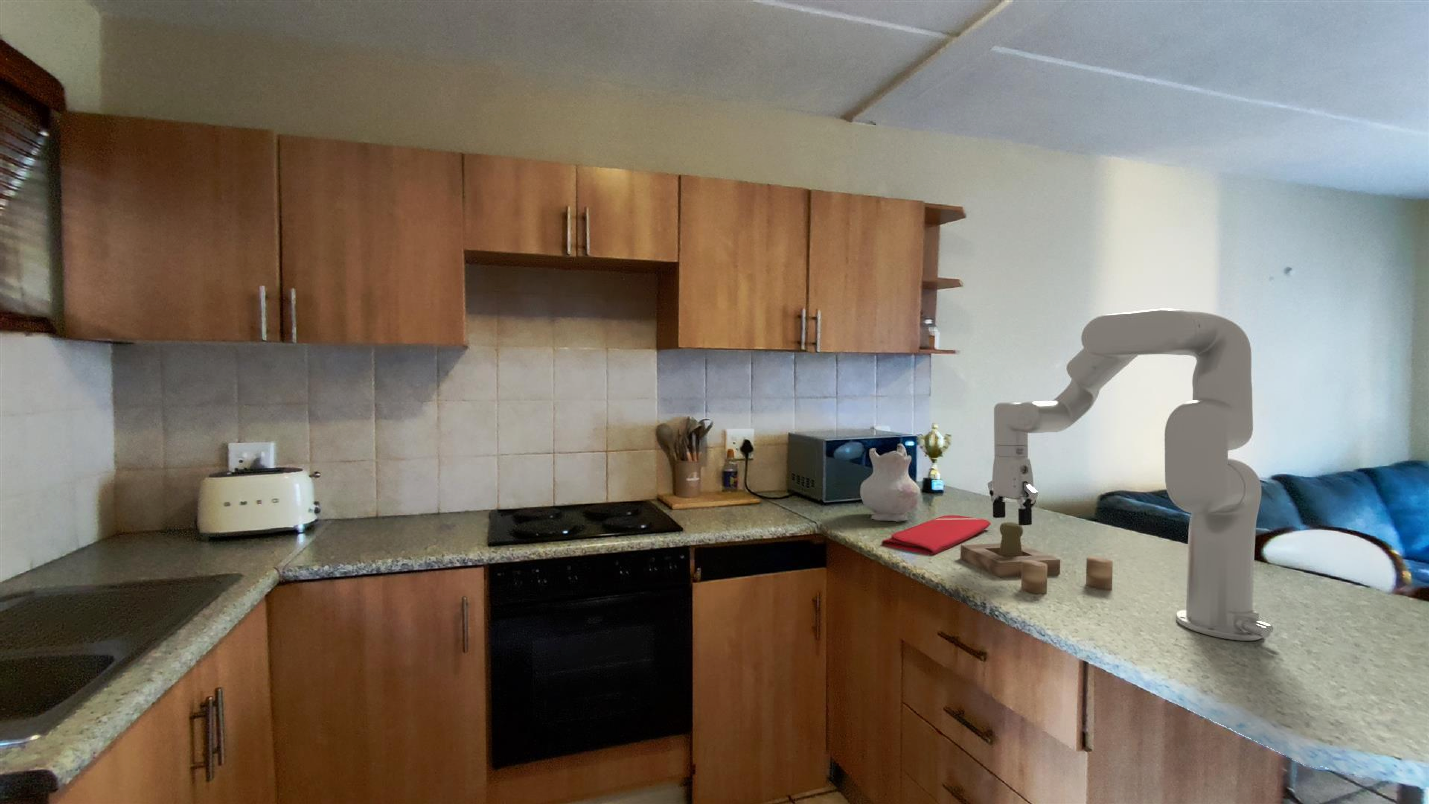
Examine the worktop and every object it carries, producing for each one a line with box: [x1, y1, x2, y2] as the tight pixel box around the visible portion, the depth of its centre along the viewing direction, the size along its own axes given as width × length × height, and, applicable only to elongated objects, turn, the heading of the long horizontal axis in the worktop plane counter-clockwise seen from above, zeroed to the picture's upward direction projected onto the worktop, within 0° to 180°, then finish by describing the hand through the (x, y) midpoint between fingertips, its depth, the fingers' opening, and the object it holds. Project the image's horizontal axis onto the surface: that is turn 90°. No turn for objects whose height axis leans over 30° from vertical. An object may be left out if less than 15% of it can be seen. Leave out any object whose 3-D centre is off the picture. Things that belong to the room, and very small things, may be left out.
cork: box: [999, 521, 1024, 557], centre depth 152 cm, size 6×6×11 cm
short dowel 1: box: [1020, 560, 1048, 595], centre depth 135 cm, size 5×5×6 cm
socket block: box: [959, 542, 1061, 578], centre depth 154 cm, size 16×16×4 cm
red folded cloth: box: [881, 514, 992, 556], centre depth 182 cm, size 16×41×4 cm, turn 136°
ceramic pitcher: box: [859, 443, 922, 523], centre depth 209 cm, size 22×20×25 cm
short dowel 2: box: [1085, 556, 1114, 591], centre depth 138 cm, size 5×5×6 cm
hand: (1011, 521), depth 153 cm, fingers open, 9 cm apart
